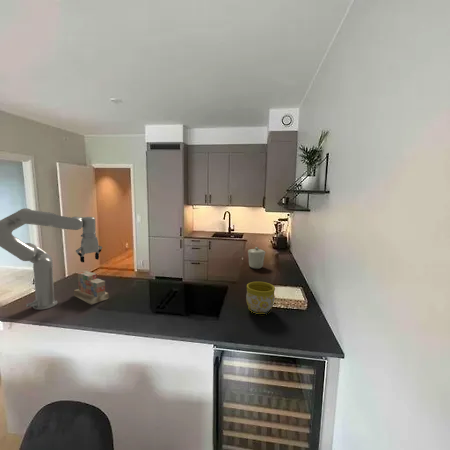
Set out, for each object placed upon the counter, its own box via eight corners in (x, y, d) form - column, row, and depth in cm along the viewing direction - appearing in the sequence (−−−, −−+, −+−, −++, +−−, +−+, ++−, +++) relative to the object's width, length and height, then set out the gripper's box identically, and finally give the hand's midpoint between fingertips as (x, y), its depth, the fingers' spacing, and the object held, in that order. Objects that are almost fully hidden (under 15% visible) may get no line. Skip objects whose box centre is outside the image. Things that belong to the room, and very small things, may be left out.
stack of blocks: (105, 294, 172) (105, 276, 171) (96, 297, 167) (96, 279, 165) (87, 287, 183) (86, 270, 182) (78, 289, 178) (77, 272, 176)
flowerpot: (253, 319, 154) (255, 293, 152) (240, 306, 170) (241, 282, 168) (279, 315, 161) (280, 290, 158) (264, 303, 177) (265, 280, 175)
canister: (257, 271, 249) (259, 249, 246) (243, 267, 261) (244, 246, 258) (268, 267, 262) (269, 247, 259) (253, 263, 274) (254, 244, 271)
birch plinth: (91, 304, 165) (91, 298, 165) (74, 295, 177) (73, 290, 177) (108, 298, 175) (108, 293, 174) (91, 290, 187) (91, 285, 187)
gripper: (78, 237, 161) (79, 264, 164) (104, 234, 176) (105, 259, 178) (72, 236, 166) (73, 262, 168) (98, 233, 180) (99, 257, 182)
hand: (89, 260), depth 173 cm, fingers open, 9 cm apart
